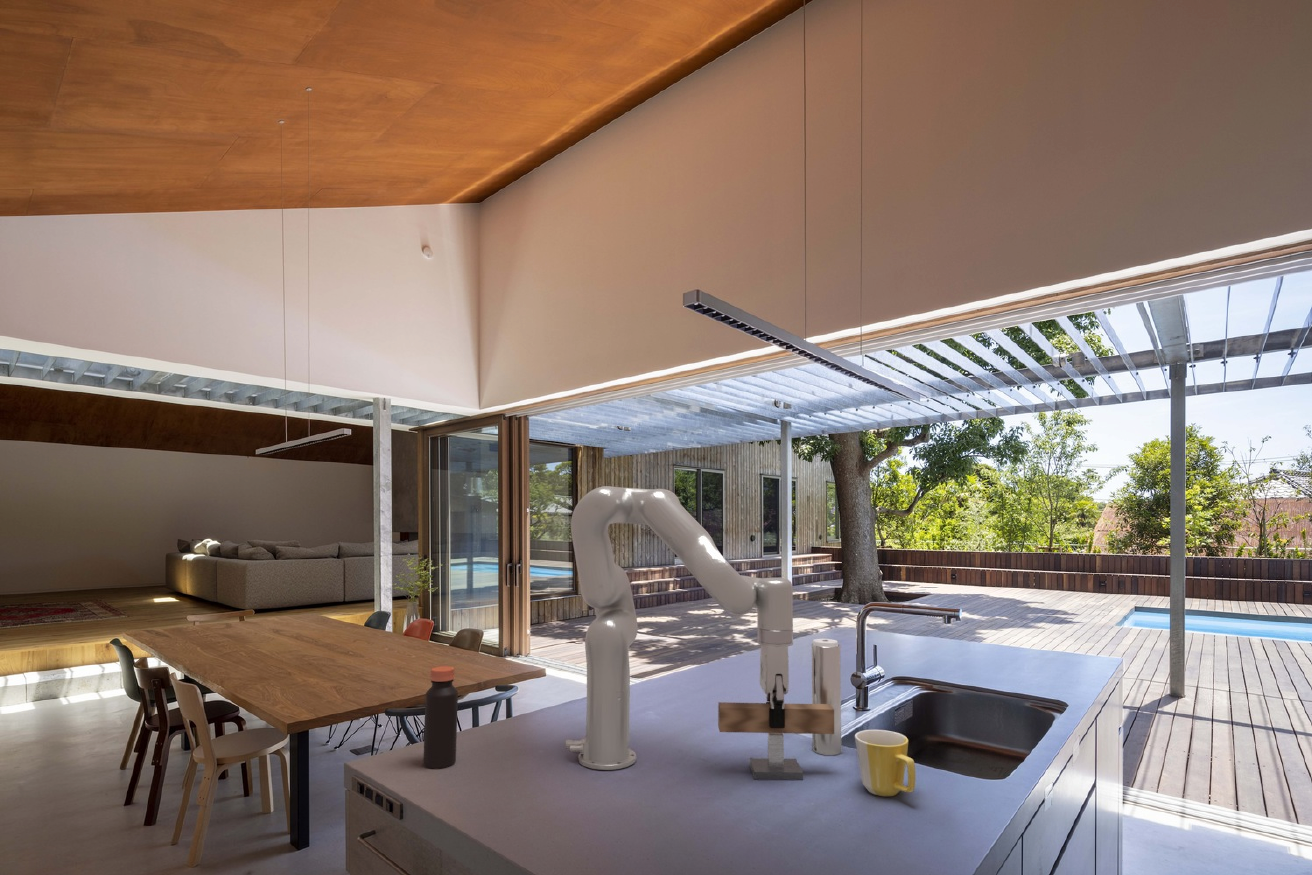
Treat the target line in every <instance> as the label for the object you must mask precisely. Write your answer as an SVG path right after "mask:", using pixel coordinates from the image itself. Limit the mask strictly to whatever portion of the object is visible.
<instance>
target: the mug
mask: <svg viewBox="0 0 1312 875" xmlns="http://www.w3.org/2000/svg"><path fill="white" fill-rule="evenodd" d="M854 739H855V747H856V751H857V752H856V753H857V758H858V764H859V770H860V771H859V772H860V778H861V783H862V784H863V786H864V788H865V789H867V791H868V792H869V793H870V794H872V795H875V796H879V797H893V796H896V795H898V793H899V792H900V791H901V792H905V793H911V792H914V790H915V787H916V765H915V761H914V759H913V758H911V757H909V756H908V747H909V739H908V738H907V736H906V735H904V734H902V733H899V732H897V731H896V732H895V731H890V730H885V729H864V730H861V731H858V732H856V733H855V735H854ZM906 767H907V786H906V785H904V780H905V771H906Z"/></svg>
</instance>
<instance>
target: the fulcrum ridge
mask: <svg viewBox="0 0 1312 875" xmlns="http://www.w3.org/2000/svg"><path fill="white" fill-rule="evenodd" d="M784 741H785V738H784V733H767V758H752V757H751V758H749V768H750V771H751V773H752V777H753V779H754V780H755V781H756V780H758V781H759V780H760V781H762V780H763V781H764V780H766V781H768V780H769V781H772V780H773V781H777V780H779V781H780V780H781V781H785V780H786V781H791V780H792V781H803V780H804V771H803V770H802V768H801V765H800V764H799V762H798V761H797V758H784V755H785V751H784V750H785V748H784V746H785V744H784V743H785V742H784Z"/></svg>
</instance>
